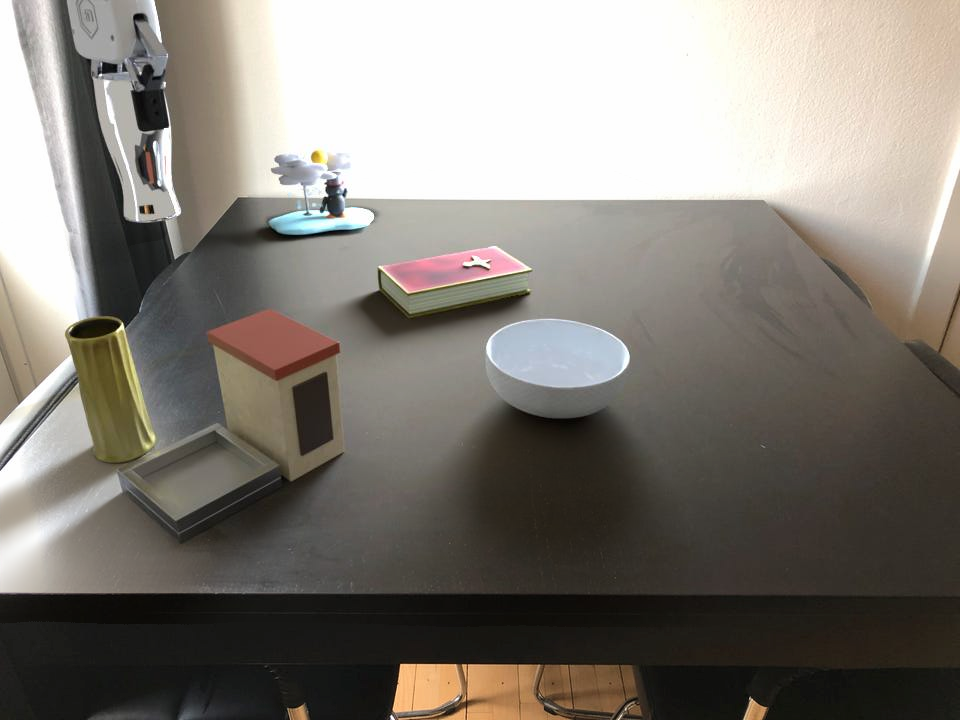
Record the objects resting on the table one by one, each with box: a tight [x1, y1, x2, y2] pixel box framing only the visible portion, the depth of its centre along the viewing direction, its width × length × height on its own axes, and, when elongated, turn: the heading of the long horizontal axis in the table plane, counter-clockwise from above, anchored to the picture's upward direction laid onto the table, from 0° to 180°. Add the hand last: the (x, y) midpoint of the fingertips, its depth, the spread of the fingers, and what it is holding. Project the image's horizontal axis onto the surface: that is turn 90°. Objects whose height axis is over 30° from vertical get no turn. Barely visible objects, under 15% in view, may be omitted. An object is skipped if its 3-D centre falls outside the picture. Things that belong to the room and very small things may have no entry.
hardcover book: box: [377, 245, 533, 319], centre depth 116 cm, size 12×21×4 cm, turn 118°
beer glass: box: [92, 71, 182, 224], centre depth 81 cm, size 7×7×15 cm
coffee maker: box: [116, 308, 346, 544], centre depth 73 cm, size 19×12×13 cm, turn 139°
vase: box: [64, 315, 156, 464], centre depth 76 cm, size 6×6×14 cm
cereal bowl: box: [484, 318, 631, 420], centre depth 87 cm, size 17×17×7 cm
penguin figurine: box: [268, 149, 375, 236], centre depth 139 cm, size 20×11×15 cm, turn 108°
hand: (135, 123), depth 80 cm, fingers closed on beer glass, 7 cm apart
